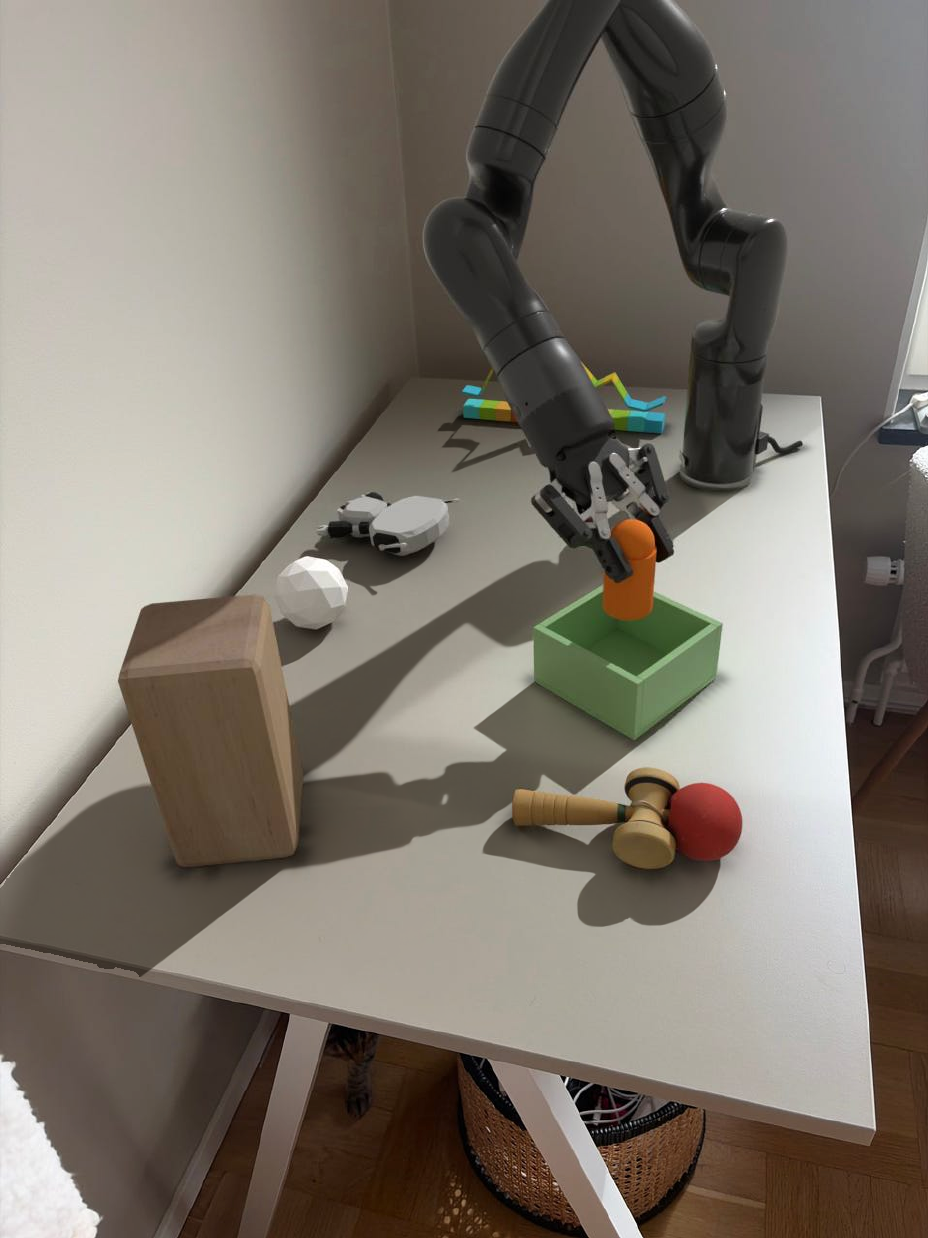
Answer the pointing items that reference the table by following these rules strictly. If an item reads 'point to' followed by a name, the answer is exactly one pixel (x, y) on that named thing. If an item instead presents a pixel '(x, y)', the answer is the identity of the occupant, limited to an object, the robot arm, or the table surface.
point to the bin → (626, 660)
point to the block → (215, 728)
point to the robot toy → (391, 522)
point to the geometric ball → (311, 592)
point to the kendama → (646, 818)
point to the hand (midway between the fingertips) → (645, 568)
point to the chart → (621, 417)
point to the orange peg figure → (636, 591)
